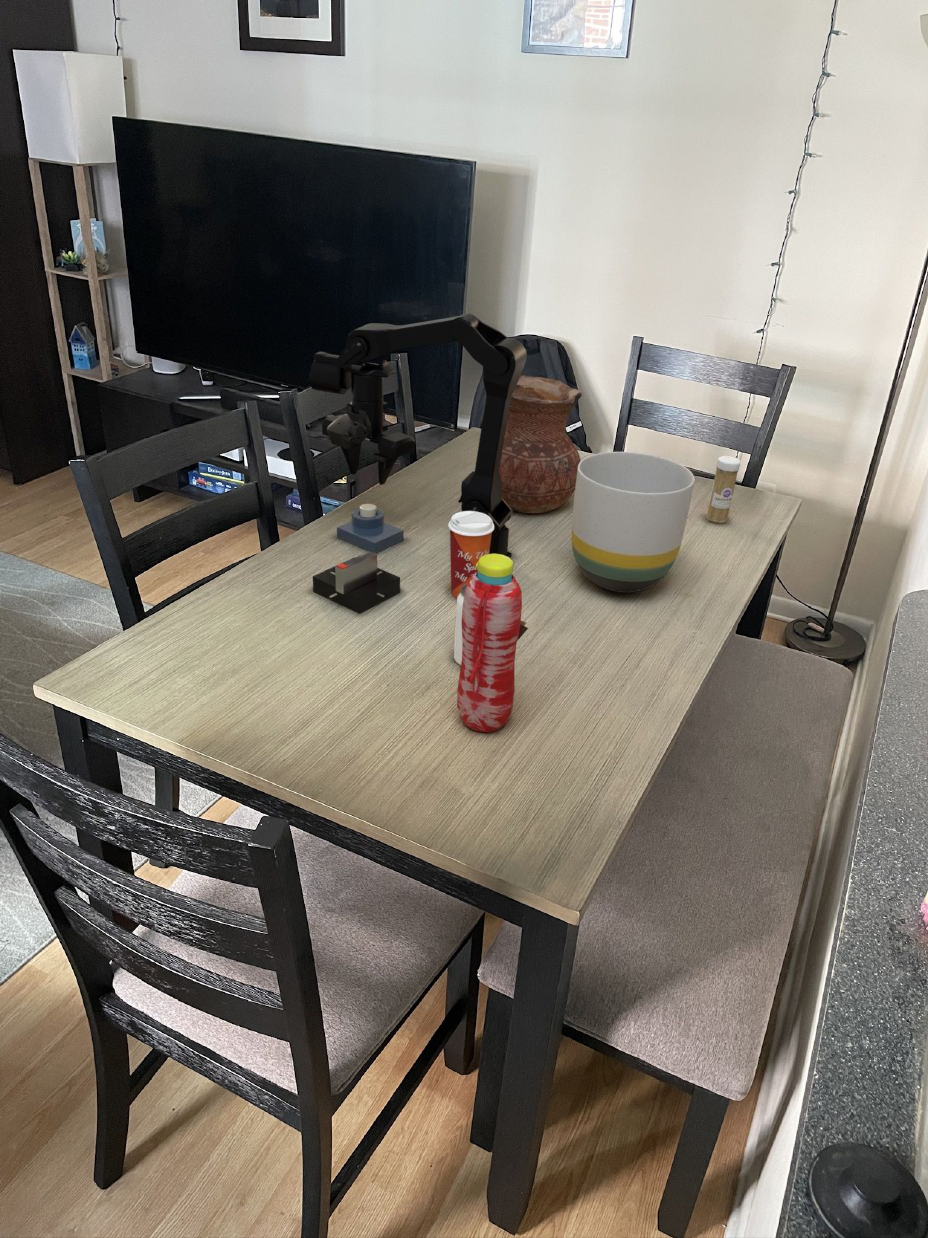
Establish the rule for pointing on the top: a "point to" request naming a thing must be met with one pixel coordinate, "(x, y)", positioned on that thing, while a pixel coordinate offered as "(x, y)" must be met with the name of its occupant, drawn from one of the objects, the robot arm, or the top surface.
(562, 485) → the jug
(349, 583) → the grey block red tab
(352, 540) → the blue stepped block
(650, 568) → the planter
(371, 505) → the pump button
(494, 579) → the water bottle
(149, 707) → the top surface
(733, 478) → the sprinkles bottle
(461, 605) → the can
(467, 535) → the paper cup
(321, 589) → the black dial base
